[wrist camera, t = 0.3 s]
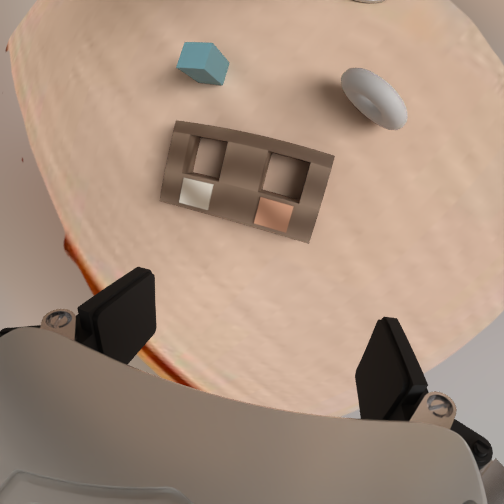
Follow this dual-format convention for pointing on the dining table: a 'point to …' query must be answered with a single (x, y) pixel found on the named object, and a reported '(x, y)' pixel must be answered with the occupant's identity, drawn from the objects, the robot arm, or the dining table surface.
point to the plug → (203, 63)
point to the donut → (374, 98)
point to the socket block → (244, 181)
